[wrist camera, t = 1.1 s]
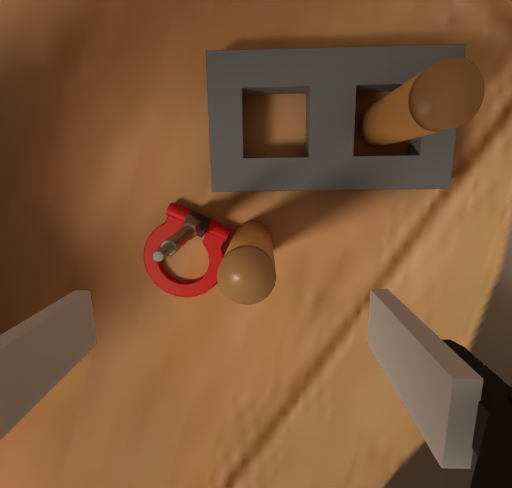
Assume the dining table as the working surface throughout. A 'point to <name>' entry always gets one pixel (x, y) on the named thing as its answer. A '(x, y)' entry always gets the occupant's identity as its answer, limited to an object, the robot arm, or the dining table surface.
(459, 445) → the robot arm
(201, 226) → the tow hook
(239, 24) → the dining table surface
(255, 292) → the peg
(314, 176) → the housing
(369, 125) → the cylinder
